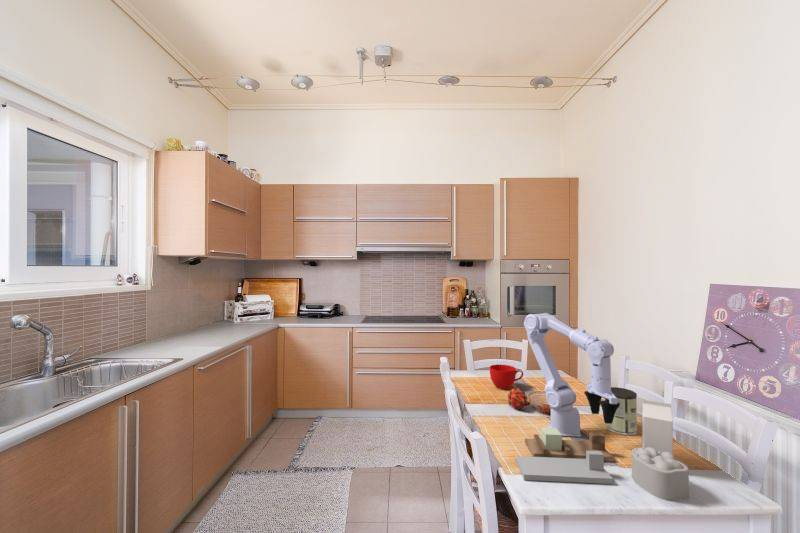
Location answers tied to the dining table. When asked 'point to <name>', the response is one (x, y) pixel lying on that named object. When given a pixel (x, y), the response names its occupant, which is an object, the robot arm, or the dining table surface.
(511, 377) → the ceramic cup
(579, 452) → the walnut strip
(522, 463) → the slate strip
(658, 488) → the lumpy-topped squat cylinder
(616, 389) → the coffee can
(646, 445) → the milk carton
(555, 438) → the cube
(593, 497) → the dining table surface
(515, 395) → the dragon fruit
